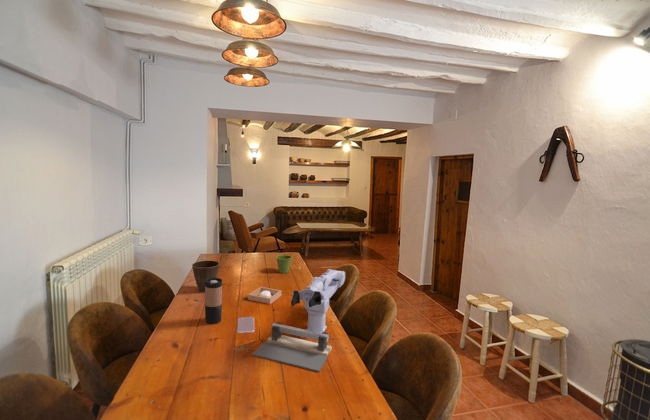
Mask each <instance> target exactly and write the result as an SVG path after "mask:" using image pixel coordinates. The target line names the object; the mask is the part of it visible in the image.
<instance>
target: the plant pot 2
mask: <svg viewBox="0 0 650 420" xmlns="http://www.w3.org/2000/svg"><path fill="white" fill-rule="evenodd" d="M275 258H276V261H277V268H278V269H277V270H278V273H279V274H288V273H289V272H290V267H291V262H292V259H293V256H292V255H289V254H279V255H276V256H275Z"/></svg>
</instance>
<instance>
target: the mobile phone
mask: <svg viewBox="0 0 650 420" xmlns="http://www.w3.org/2000/svg"><path fill="white" fill-rule="evenodd" d="M236 329H237V330H236V332H237V333H238V334H247V333H254V332H255V317H254V316H242V317H241V316H240V317H238V318H237V328H236Z"/></svg>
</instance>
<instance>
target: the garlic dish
mask: <svg viewBox="0 0 650 420" xmlns="http://www.w3.org/2000/svg"><path fill="white" fill-rule="evenodd" d="M265 290H266V291H269V292H270V293H271V296H272V297H270V298H267V297H262V296H259V294H260V293H261V292H262V291H265ZM282 293H283V292H282V290H280V289H275V288H269V287H264V286H260V287H258V288H256V289H254V290H253V291H252V292H250V293H248V294H247V301H251V302H258V303H261V304H262V303H263V304H268V305H271V304H273V302H275V301H276V300H277V299H279V298H280V297H282Z"/></svg>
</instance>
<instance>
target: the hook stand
mask: <svg viewBox="0 0 650 420" xmlns="http://www.w3.org/2000/svg"><path fill="white" fill-rule="evenodd" d="M275 323H276V324H281V325H283V323H282V322H278V321H277V322H275ZM282 333H283V332H278V327H275V326H272V325H271V335H270V336H269V337H268V338H267V339H266V342H268V343H272V344H276V345H281V346H285V347H289V348H293V349H298V350H302V351H306V352H310V353H315V354H319V355H323V356H327V357H328V356H329V354H330V352H331V350H332V348H333V347H332V346H331V345H328V341H327V342H325V337H321V336H319V339H318V340H317V342H314V341H310V340H305V339H302V338H301V339H300V338H297V337H292V336H289V335H288V336H287V335H283V334H282ZM322 333H323V334H328V335H329V332H327V331H326V332H325V331H324V332H322Z"/></svg>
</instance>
